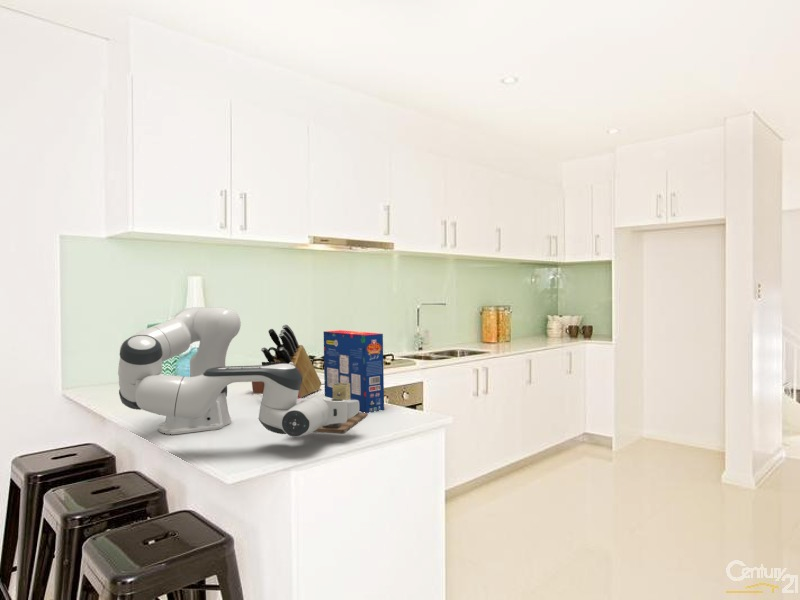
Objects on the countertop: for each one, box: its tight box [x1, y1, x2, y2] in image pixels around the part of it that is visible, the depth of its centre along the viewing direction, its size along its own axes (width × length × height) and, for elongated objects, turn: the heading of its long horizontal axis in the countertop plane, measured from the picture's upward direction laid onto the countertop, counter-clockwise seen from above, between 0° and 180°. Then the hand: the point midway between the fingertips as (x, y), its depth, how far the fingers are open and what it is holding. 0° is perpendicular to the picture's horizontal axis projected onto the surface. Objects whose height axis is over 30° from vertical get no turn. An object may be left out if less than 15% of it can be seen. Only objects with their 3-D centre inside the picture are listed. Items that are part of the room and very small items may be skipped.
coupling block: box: [333, 383, 351, 421], centre depth 178 cm, size 5×4×12 cm
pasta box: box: [323, 329, 385, 414], centre depth 206 cm, size 28×8×28 cm, turn 39°
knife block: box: [260, 324, 322, 398], centre depth 226 cm, size 11×35×31 cm, turn 165°
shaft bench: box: [313, 412, 369, 434], centre depth 178 cm, size 24×10×4 cm, turn 166°
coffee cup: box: [251, 364, 264, 395], centre depth 235 cm, size 9×9×12 cm
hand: (334, 401), depth 171 cm, fingers open, 8 cm apart
